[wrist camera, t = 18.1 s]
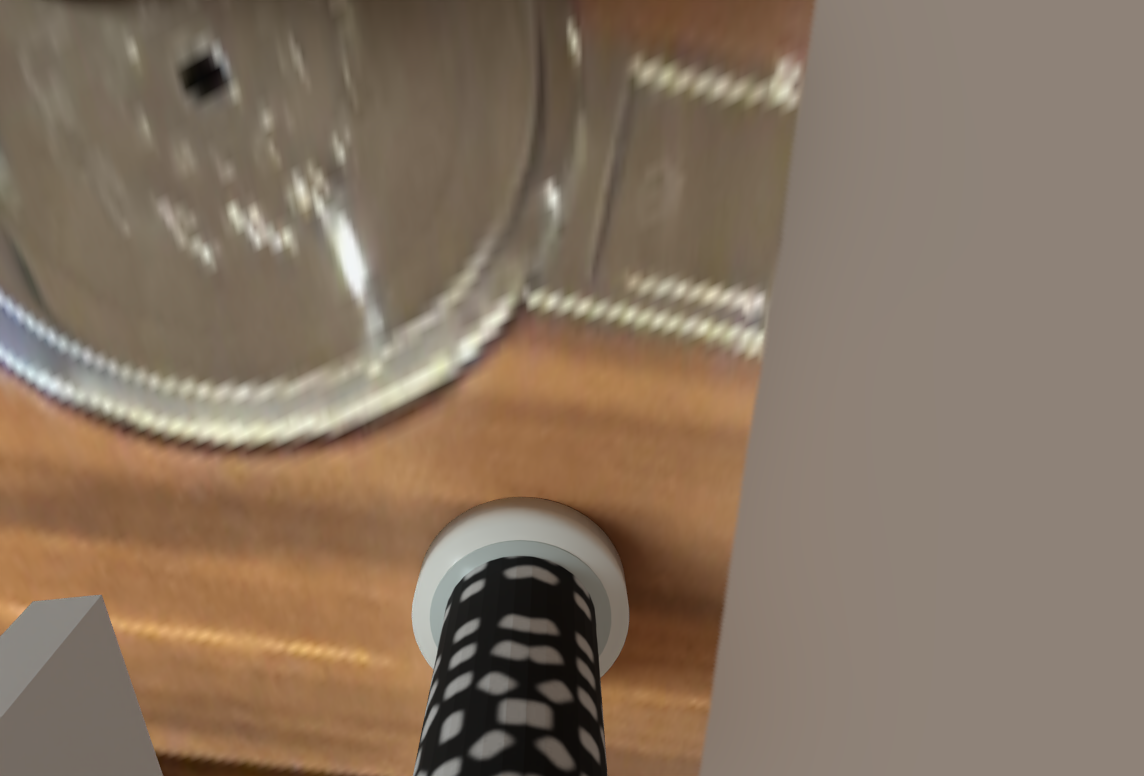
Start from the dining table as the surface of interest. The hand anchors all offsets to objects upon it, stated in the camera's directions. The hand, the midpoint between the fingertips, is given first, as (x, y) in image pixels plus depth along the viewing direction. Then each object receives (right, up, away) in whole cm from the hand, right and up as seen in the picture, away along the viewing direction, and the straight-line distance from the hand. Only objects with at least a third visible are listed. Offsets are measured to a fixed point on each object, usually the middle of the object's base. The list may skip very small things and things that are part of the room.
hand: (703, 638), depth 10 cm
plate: (-4, -9, +43) cm, 44 cm away
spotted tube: (-4, -10, +40) cm, 41 cm away
